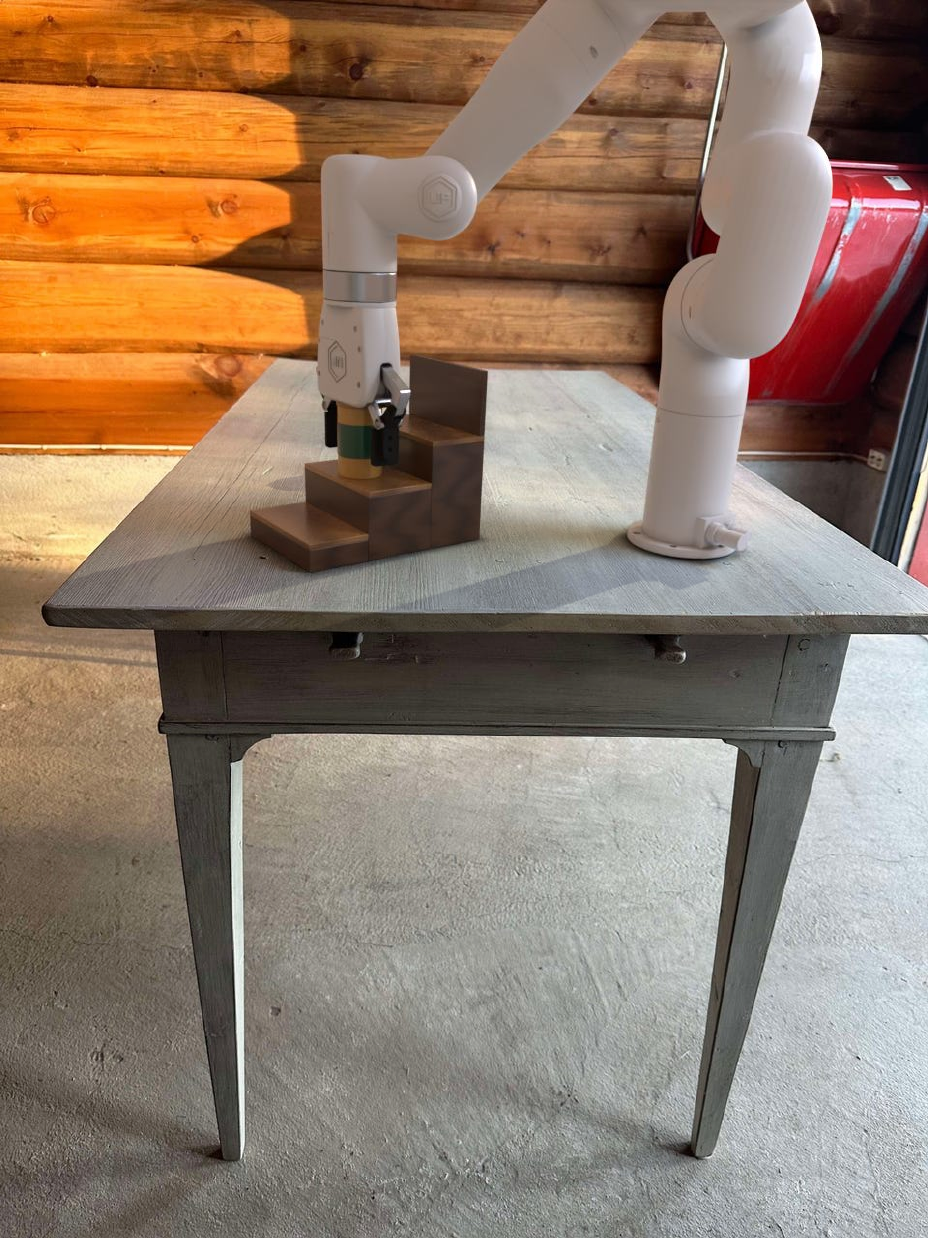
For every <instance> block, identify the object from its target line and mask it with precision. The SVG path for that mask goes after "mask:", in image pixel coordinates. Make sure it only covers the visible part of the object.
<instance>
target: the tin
mask: <svg viewBox="0 0 928 1238" xmlns="http://www.w3.org/2000/svg"><path fill="white" fill-rule="evenodd" d="M336 405H337V418H338V420H337V447H336V449H337V450H336V451H337V459H338V474H339V475H340V476H342V477H345V478H350V479H372V478H377V477H379V476H381V475H382V466H379V467H375V466H372V465H371V428H375V425H374V423H373V420H372V418H371V415H370V412H369V410H368V407H367V405H366V406H365V407H363V408H356V407H353V406H349V405H346V404H344V403H341V402H338V401H336ZM379 409H380V412H381V414H383V408H379Z"/></svg>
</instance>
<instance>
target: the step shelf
mask: <svg viewBox="0 0 928 1238" xmlns="http://www.w3.org/2000/svg"><path fill="white" fill-rule="evenodd" d="M408 376H409V378H408V380H409V382H408V383H409V384H408V388H409V389H410V398H409V401H408V413H406V415H405V416H404V418H403V419H402V421H403V423H402V426H401V427H399V462H398V463H397V464H394V465H387V466H382V475H381V476H379V477H377V478H372V479H350V478H345V477H342V476H340V475H339V474H338V458H337V459H330V460H322V461H321V460H320V461H313V462H305V463H304V495H305V501H299V502H292V503H287V504H280V505H273V506H267V507H260V508H252V509H249V522H250V523H249V525H250V536H251V537H253V538H255V539H256V540H258V541H259V542H261V543H262V544H264V545H265V546H268V548H270V549H272V550H274V551H275V552H277V553H278V554H280V555H282V556H284V557H285V558H286V559H288V560H289V561H291V562H292V563H294V564H295V565H297V566H299V567H300V568H302V569H303V570H305V571H306V572H309V573H315V572H318V571H325V570H330V569H336V568H340V567H344V566H345V567H346V566H350V565H354V564H355V565H356V564H360V563H364V562H365V563H366V562H370V561H375V560H381V559H386V558H389V557H391V558H392V557H396V556H400V555H406V554H410V553H415V552H421V551H425V550H430V549H435V548H440V547H445V546H450V545H455V544H460V543H461V544H462V543H465V542H470V541H476V540H480V534H481V518H482V517H481V516H482V499H483V498H482V497H483V479H484V478H483V476H484V457H485V439H486V438H485V437H486V436H485V434H486V419H487V418H486V417H487V399H488V398H487V397H488V380H489V378H488V377H489V371H488V370H486V369H482V368H477V367H473V366H469V365H464V364H460V363H455V362H451V361H447V360H443V359H439V358H435V357H429V356H425V355H422V354H417V353H410V354H409V375H408Z"/></svg>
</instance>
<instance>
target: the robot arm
mask: <svg viewBox="0 0 928 1238" xmlns="http://www.w3.org/2000/svg"><path fill="white" fill-rule="evenodd" d="M666 13H705V14H706V16H707V18H708V19H709V20H710V21H711V23H712V24H713V26H714V27H715V29H717V31H718V32H719V34H720V36H721V38H722V40H723V41H724V44H725V47H726V49H727V53H728V58H729V70H730V71H729V82H728V88H727V92H726V96H725V102H724V107H723V112H722V116H721V119H720V123H719V126H718V130H717V135H716V138H715V142H714V146H713V149H712V153H711V156H710V161H709V164H708V167H707V171H706V174H705V178H704V182H703V185H702V189H701V196H700V197H701V198H700V208H701V214H702V217H703V220H704V221H705V223H706V225H707V227H709V229H710V230H711V231H712V232H714V233H715V234H716V235H718V236H720V237H719V240H718V244H717V248H716V251H715V252H716V253H708V254H703V255H700V256H699V257H696V258H693V260H691V261H688V263H687V264H685V265H684V266H682V268H681V269H680V270H679V271H678V272H677V273H676V274H675V276H674V277H673V279H672V281H671V282H670V285H669V286H668V289H667V291H666V294H665V298H664V303H663V308H662V323H661V325H662V326H661V327H662V329H661V331H662V333H661V336H662V337H661V338H662V339H661V340H662V346H661V347H662V348H661V349H662V350H661V369H660V379H659V387H658V396H657V402H656V403H657V404H656V410H655V417H654V426H653V432H652V433H653V435H652V441H651V449H650V456H649V457H650V458H649V465H648V472H647V473H648V474H647V482H646V488H645V489H646V490H645V498H644V504H643V505H644V506H643V512H642V513H643V514H642V519H640V520H639V519H638V520H636V521H634V522H632V523H631V524H629V526H628V528H627V535H626V536H627V539H628V541H629V542H630V543H632V545H634V546H636V547H638V548H640V549H642V550H645V551H647V552H651V553H654V554H658V555H661V556H667V557H672V558H679V559H690V560H708V559H709V560H710V559H717V558H723V557H726V556H729V555H731V554H733V553H734V552H735V551H737V552H743V551H744V550H745V549H746V548H747V546H748V543H749V542H750V541H751V539H752V535H753V532H752V531H751V530H749V529H747V528H743V527H738V526H736V524H735V523H736V517H737V512H735V511H732V510H729V509H730V504H731V503H730V502H731V497H732V491H733V485H734V477H735V472H736V467H737V460H738V453H739V449H740V443H741V436H742V431H743V423H744V418H745V413H746V407H747V401H748V393H749V384H750V360H751V359H756V358H759V357H761V356H763V355H765V354H767V353H769V352H770V351H772V350H774V349H775V348H776V347H777V345H779V344H780V343H781V342H782V340H784V338H785V337H786V335H788V333H789V331H790V329H791V328H792V325H793V324H794V322H795V319H796V317H797V314H798V312H799V310H800V307H801V304H802V300H803V298H804V295H805V291H806V289H807V285H808V282H809V279H810V275H811V273H812V270H813V267H814V264H815V263H814V262H815V259H816V256H817V253H818V250H819V247H820V245H821V240H822V239H823V238H822V237H823V234H824V232H825V229H826V224H827V221H828V217H829V214H830V211H831V205H832V199H833V188H834V187H833V185H834V183H833V182H834V180H833V172H832V167H831V162H830V161H829V158H828V155H827V154H826V152H825V150H824V149H823V147H822V146H821V145H820V144H819V143H818V142H817V141H816V140H815V139H813V138H812V137H811V136H809V135H808V134H809V130H810V127H811V122H812V117H813V113H814V110H815V105H816V101H817V97H818V93H819V88H820V83H821V79H822V78H821V77H822V69H823V68H822V67H823V52H822V44H821V39H820V34H819V31H818V28H817V24H816V21H815V18H814V15H813V13H812V11H811V8H810V7H809V3H808V2H807V0H546V1H545V2H544V3H543V5H541V7H540V8H539V9H538V10H537V12H536V13H535V14H534V15H533V16H532V17H531V18H530V19H529V21H528V22H526V24H525V25H524V26H523V28H522V29H521V30H520V31H519V32H518V34H517V35H516V36H515V37H514V38H513V39H512V40H511V42H509V44H508V45H507V46H506V47H505V49H504V50H503V51H502V53H501V54H500V55H499V56H498V58H497V59H496V60H495V62H494V63H493V65H492V66H491V68H490V70H489V71H488V73H487V75H486V76H485V77H484V80H483V81H482V82H481V84H480V86H479V87H478V88H477V90H476V91H475V92H474V94H473V95H472V96H471V98H470V99H469V100H468V102H467V103H466V104H465V105H464V106H463V108H462V109H461V110H460V112H459V113H458V114H457V115H456V116H455V117H454V119H453V120H452V121H451V122H450V124H449V125H447V127H446V128H444V131H443V132H442V133H441V134H440V135H439V136H438V138H436V139H435V140H434V142H433V143H432V145H431V146H430V147H429V148H428V149H427V150H426V152H424V154H423V155H422V156H415V157H408V158H406V157H404V158H387V157H384V156H380V155H379V156H378V155H371V154H357V153H356V154H354V153H353V154H352V153H348V154H347V153H345V154H344V153H343V154H333V155H330V156H328V157H327V158H326V159H324V160H323V163H322V165H321V169H320V195H321V196H320V200H321V201H320V202H321V203H320V204H321V205H320V206H321V247H322V248H321V251H322V253H321V256H322V297H323V299H322V306H321V311H320V319H319V328H318V340H317V341H318V343H317V366H316V369H315V371H316V376H317V390H318V391H319V393H320V396H321V398H322V401H321V408H322V410H323V411H324V412H323V415H324V417H323V419H324V423H323V424H324V445H325V447H326V448H327V449H333V448H337V420H338V418H337V405H336V401H338V402H341V403H344V404H346V405H349V406H353V407H356V408H363V407H365V406H366V405H367V407H368V410H369V412H370V415H371V418H372V420H373V423H374V425H375V428H371V465H372V466H375V467H379V466H387V465H394V464H397V463H398V462H399V427H401V426H402V423H403V421H402V419H403V418H404V416H405V415H406V414H407V407H408V405H409V398H410V389H409V386H408V385H407V384H406V383H405V382H404V381H403V379H402V378H401V348H400V347H401V346H400V333H399V323H398V315H397V308H396V307H397V305H398V304H397V300H398V299H397V297H398V294H397V293H398V235H405V236H412V237H415V238H416V237H417V238H421V239H425V240H431V241H446V240H449V239H453V238H454V237H456V236H458V235H460V234H461V233H462V232H463V231H465V230H466V229H467V228H468V226H469V225H470V224H471V222H472V220H473V219H474V216H475V214H476V211H477V206H478V205H479V204H480V203H481V202H482V201H483V199H484V198H486V196H487V195H488V194H489V192H491V190H492V189H493V188H494V187H495V186H496V185H497V184H498V183H499V182H500V181H501V179H503V177H504V176H505V175H506V174H507V173H508V172H509V171H511V169H512V168H513V167H514V166H515V165H516V164H517V163H518V162H519V161H520V160H521V159H522V158H523V157H524V156H525V155H526V154H527V153H529V151H531V150H532V149H533V148H535V147H536V146H537V145H539V144H540V143H542V142H543V141H544V140H545V139H547V138H548V137H550V136H551V135H552V134H554V133H555V132H556V131H557V130H558V129H559V128H560V127H561V126H562V125H563V124H564V123H565V122H567V120H568V119H569V118H570V117H571V116H572V115H573V114H574V113H575V112H576V110H577V109H578V108H579V107H580V106H581V105H582V104H583V103H584V101H585V100H587V98H588V97H589V96H590V94H591V93H593V91H594V90H595V89H596V88H597V87H598V86H599V84H601V82H602V81H603V80H604V79H605V78H606V77H607V76H608V75H609V73H611V71H612V70H613V69H614V68H615V67H616V66H617V64H618V63H619V62H620V61H621V60H622V59H623V58H624V57H625V56H626V55H627V54H628V52H629V51H631V49H633V47H634V46H635V45H636V44H637V43H638V41H640V39H641V38H642V37H643V36H644V34H646V32H647V31H648V30H649V29H650V28H651V27H652V25H654V23H655V22H657V21H658V19H659V18H661V17H662V16H663V15H664V14H666ZM379 408H382V409H385V410H384V411H383V412H382V414H381V412H380V409H379Z"/></svg>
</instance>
